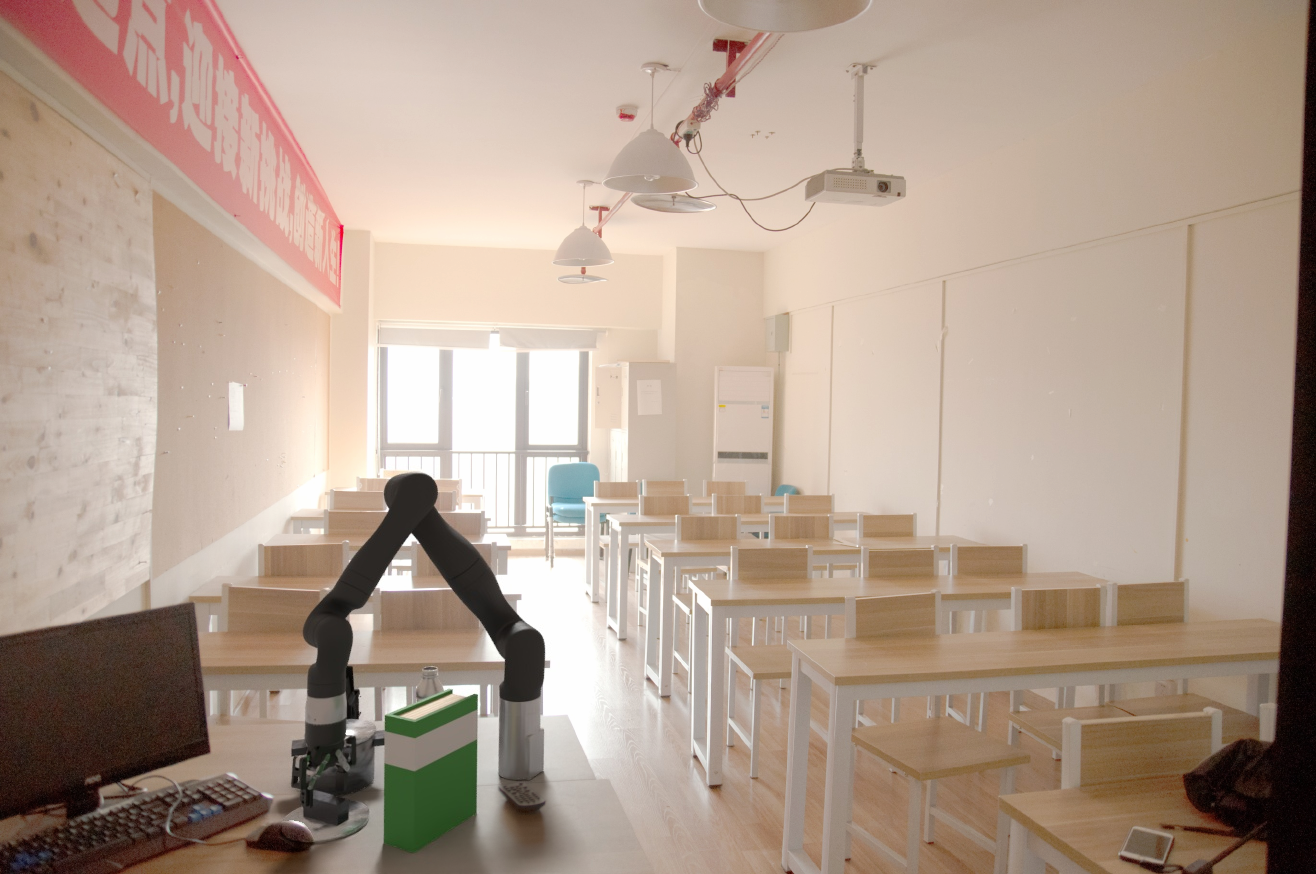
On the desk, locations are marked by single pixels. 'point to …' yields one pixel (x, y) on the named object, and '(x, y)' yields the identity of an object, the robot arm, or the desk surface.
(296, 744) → the pot
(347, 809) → the lid
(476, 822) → the desk surface
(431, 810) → the hardback book
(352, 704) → the camera
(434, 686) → the plastic bottle
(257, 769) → the desk surface
